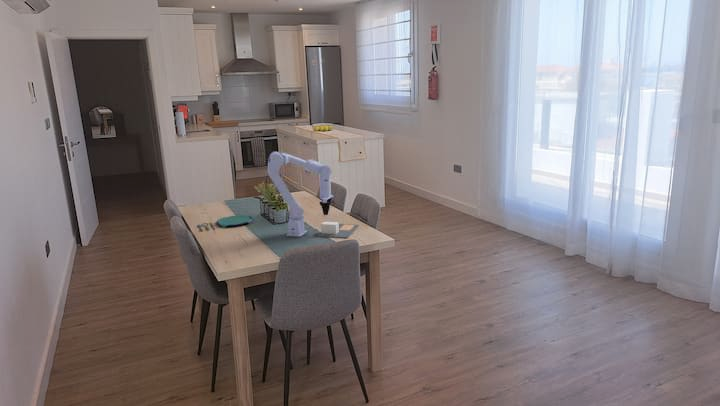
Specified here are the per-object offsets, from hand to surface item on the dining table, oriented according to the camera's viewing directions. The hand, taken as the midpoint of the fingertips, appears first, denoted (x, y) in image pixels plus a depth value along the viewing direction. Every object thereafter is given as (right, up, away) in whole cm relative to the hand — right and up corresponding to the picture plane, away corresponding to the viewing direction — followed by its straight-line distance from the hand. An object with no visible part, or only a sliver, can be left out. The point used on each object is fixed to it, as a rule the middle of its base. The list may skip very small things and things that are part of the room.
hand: (326, 212), depth 259 cm
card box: (+2, -10, -3) cm, 11 cm away
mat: (+6, -10, +1) cm, 11 cm away
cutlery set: (-58, -7, +19) cm, 62 cm away
